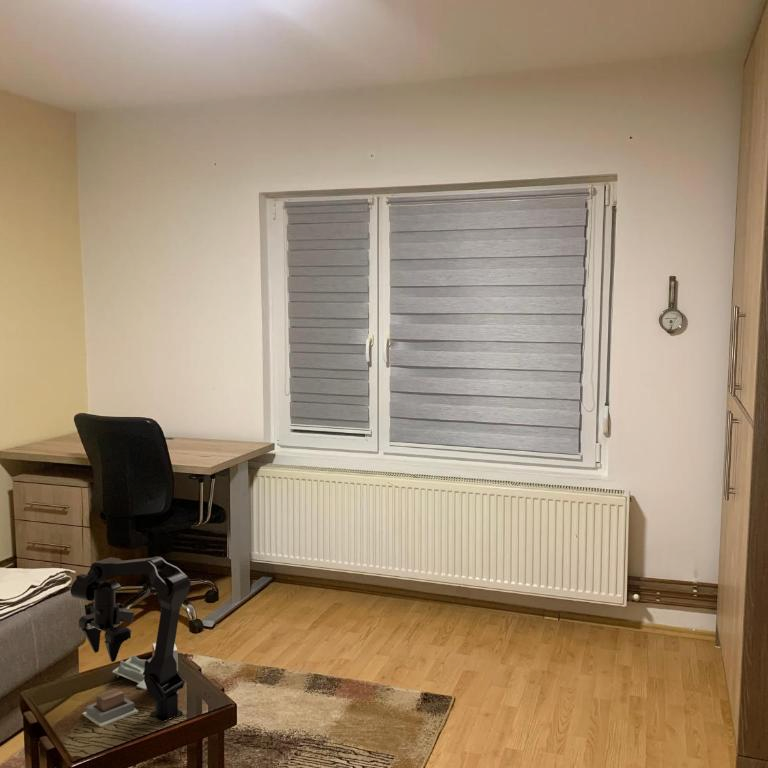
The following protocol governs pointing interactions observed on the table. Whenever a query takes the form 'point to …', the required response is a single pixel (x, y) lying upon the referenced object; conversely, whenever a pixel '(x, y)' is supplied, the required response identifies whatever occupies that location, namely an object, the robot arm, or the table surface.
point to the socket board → (110, 713)
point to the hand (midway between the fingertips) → (104, 656)
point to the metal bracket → (132, 670)
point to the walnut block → (110, 700)
